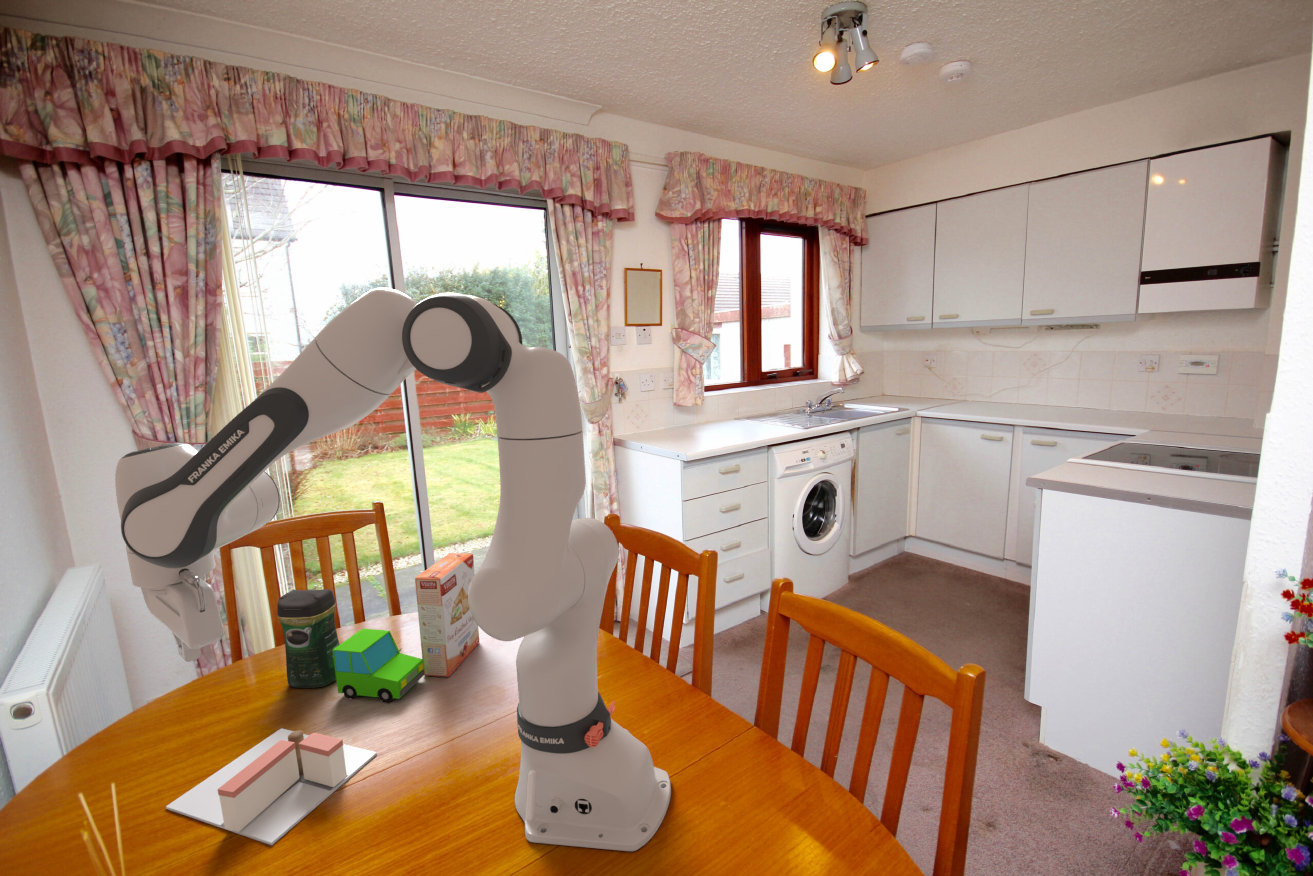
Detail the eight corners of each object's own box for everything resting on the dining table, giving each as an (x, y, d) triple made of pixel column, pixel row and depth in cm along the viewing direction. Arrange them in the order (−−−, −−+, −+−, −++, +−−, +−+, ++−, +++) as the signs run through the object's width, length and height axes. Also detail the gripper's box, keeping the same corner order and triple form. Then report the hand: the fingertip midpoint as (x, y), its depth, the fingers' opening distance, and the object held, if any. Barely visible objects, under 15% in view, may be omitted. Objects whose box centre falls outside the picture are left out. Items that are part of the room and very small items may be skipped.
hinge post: (311, 771, 91) (306, 732, 90) (300, 780, 89) (294, 740, 88) (302, 768, 91) (296, 729, 90) (290, 777, 90) (284, 737, 88)
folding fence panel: (286, 775, 89) (280, 740, 88) (300, 778, 88) (294, 742, 87) (224, 828, 79) (217, 789, 78) (239, 832, 79) (232, 792, 78)
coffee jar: (351, 668, 120) (341, 582, 117) (328, 690, 112) (315, 600, 109) (307, 667, 121) (295, 583, 118) (280, 690, 113) (266, 600, 110)
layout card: (376, 754, 94) (376, 751, 94) (271, 845, 77) (271, 842, 77) (281, 730, 101) (281, 727, 101) (166, 809, 84) (165, 805, 84)
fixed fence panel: (347, 775, 89) (342, 739, 88) (332, 788, 86) (327, 751, 85) (318, 767, 90) (313, 732, 90) (303, 779, 88) (298, 743, 87)
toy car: (397, 709, 106) (392, 658, 104) (334, 702, 109) (328, 652, 107) (430, 677, 116) (425, 630, 114) (371, 672, 119) (366, 626, 117)
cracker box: (451, 678, 115) (441, 578, 112) (422, 677, 116) (412, 577, 113) (482, 642, 129) (474, 552, 125) (456, 641, 130) (448, 551, 126)
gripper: (228, 571, 75) (244, 669, 77) (180, 542, 88) (195, 628, 90) (166, 588, 70) (185, 693, 73) (124, 555, 83) (142, 646, 85)
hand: (190, 657), depth 81 cm, fingers closed
